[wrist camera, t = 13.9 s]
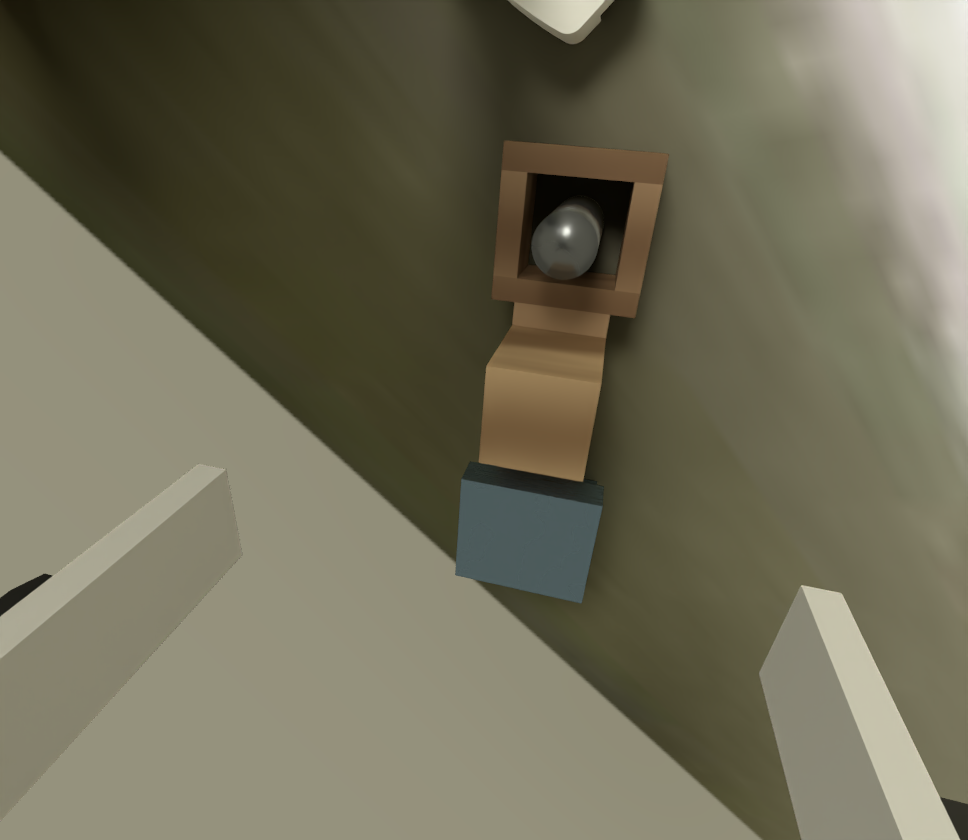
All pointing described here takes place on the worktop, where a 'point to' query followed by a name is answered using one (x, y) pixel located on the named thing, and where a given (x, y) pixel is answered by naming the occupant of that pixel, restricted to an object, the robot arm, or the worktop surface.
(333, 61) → the worktop surface
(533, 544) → the bracket
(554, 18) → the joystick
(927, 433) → the worktop surface
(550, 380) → the square loop handle
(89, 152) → the worktop surface
